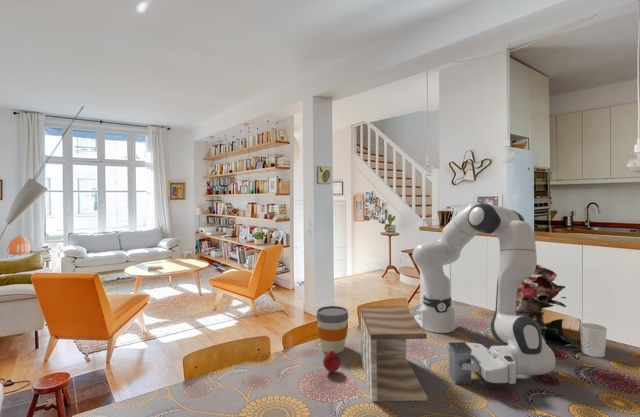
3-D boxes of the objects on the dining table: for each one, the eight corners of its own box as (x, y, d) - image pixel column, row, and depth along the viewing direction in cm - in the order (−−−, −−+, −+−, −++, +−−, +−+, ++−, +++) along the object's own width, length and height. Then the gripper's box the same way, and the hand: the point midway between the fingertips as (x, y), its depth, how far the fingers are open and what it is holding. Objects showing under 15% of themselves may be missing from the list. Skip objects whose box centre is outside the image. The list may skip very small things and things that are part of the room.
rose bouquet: (546, 322, 160) (546, 258, 159) (586, 349, 131) (586, 271, 130) (488, 320, 163) (487, 257, 162) (515, 347, 134) (514, 270, 133)
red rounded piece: (342, 369, 118) (342, 346, 118) (337, 378, 113) (337, 354, 113) (326, 367, 120) (326, 344, 120) (321, 375, 115) (320, 351, 115)
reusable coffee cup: (326, 358, 127) (325, 318, 127) (311, 346, 138) (310, 308, 138) (355, 351, 133) (354, 312, 132) (338, 339, 144) (337, 304, 144)
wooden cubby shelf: (361, 359, 125) (360, 306, 125) (405, 359, 125) (404, 305, 125) (371, 401, 99) (370, 334, 99) (427, 400, 99) (426, 333, 99)
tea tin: (449, 375, 113) (448, 342, 113) (464, 375, 113) (464, 342, 113) (455, 384, 108) (454, 349, 108) (471, 383, 108) (471, 349, 108)
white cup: (611, 359, 123) (611, 331, 122) (586, 357, 124) (586, 330, 124) (598, 349, 130) (598, 323, 130) (575, 348, 132) (575, 322, 132)
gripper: (484, 337, 121) (445, 338, 121) (518, 365, 100) (470, 366, 100) (484, 355, 121) (445, 356, 121) (518, 387, 100) (471, 387, 100)
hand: (457, 361), depth 110 cm, fingers closed on tea tin, 5 cm apart
